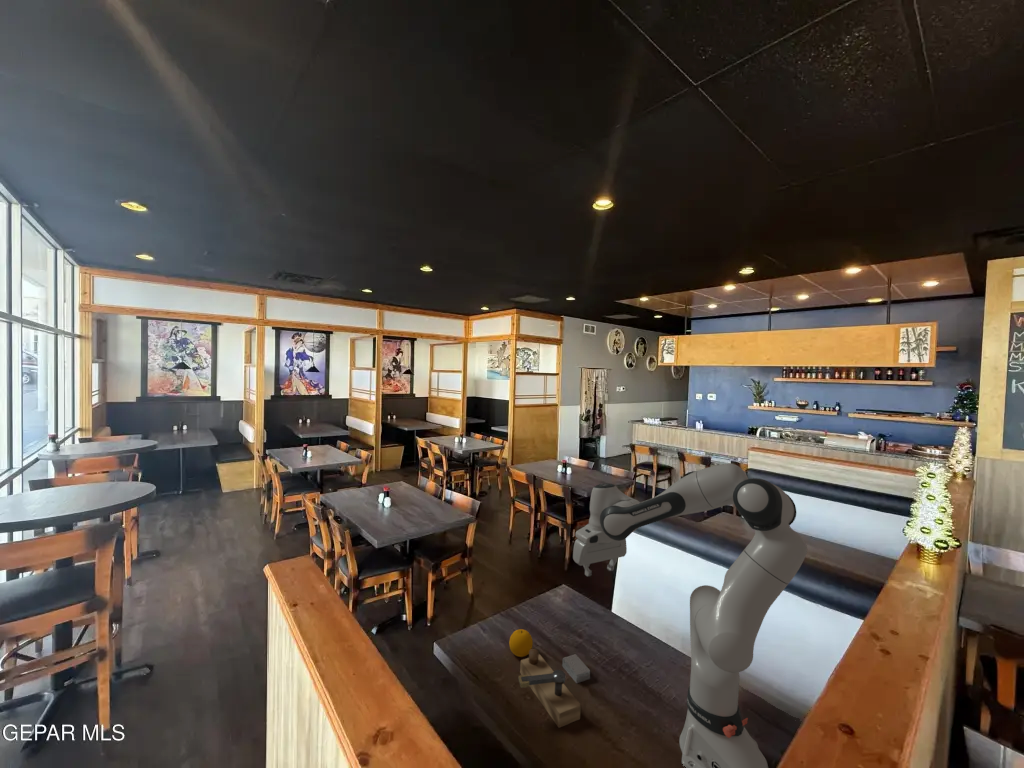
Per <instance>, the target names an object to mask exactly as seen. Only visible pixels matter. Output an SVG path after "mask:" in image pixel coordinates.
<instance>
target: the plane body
mask: <svg viewBox="0 0 1024 768" xmlns="http://www.w3.org/2000/svg"><path fill="white" fill-rule="evenodd" d="M519 669H520V671H519V673H520V675H527V676H534V675H543V674H551V673H553V672H554V671H555V670H554V669H552V668H551V666H550V665H549V664H548V662H546V659H544V657H543V656H542V655H541V654H540V653H539V650H538V649H536V648H532V649H531V650H529V654H528V657H527V658H523V659H521V660H520V667H519ZM529 688H530V689H531V690H532V692H533V693H534V695H535V696H536V698H537V699H538V701H540V703H541V704H542V706H543V707H544V709H545V710H546V712H547V713H548V715H549V716H550V718H551V719H552V720H553V722H554V723H555V724H556V726H557V727H558V729H559V728H562V727H565V726H567V725H570V724H573V722H576V721H579V720H580V719H581V708H582V707H581V706H582V705H581V703H580V702H579V701H578V699H577V698H576V697H575V696H574V694H573V693H572V692H571V691H570V690H569V688H568V687H567V686H566V685H565V683H564V684H556V683H554V682H552V683H543V684H535V685H529Z"/></svg>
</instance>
